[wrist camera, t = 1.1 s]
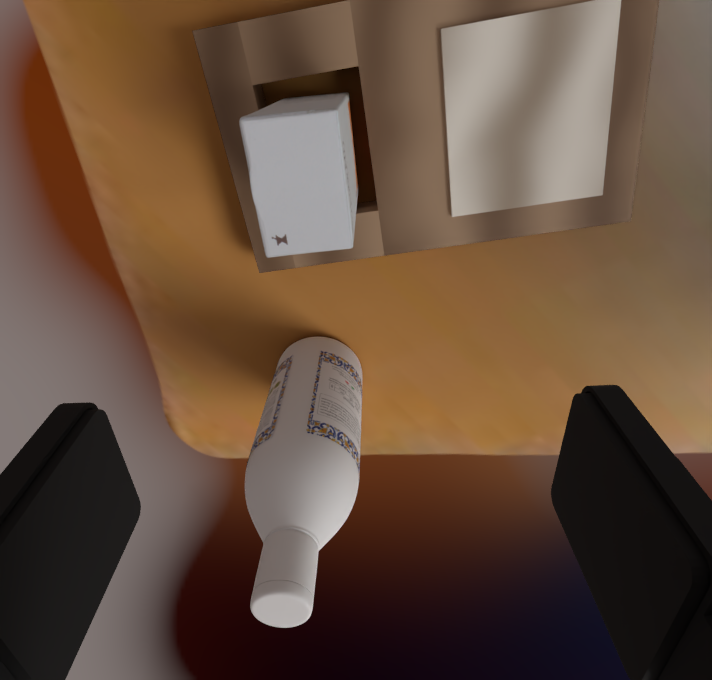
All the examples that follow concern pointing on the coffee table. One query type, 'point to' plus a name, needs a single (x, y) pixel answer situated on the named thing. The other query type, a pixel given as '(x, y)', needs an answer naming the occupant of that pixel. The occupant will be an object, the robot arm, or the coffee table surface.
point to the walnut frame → (457, 112)
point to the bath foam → (303, 472)
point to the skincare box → (303, 173)
